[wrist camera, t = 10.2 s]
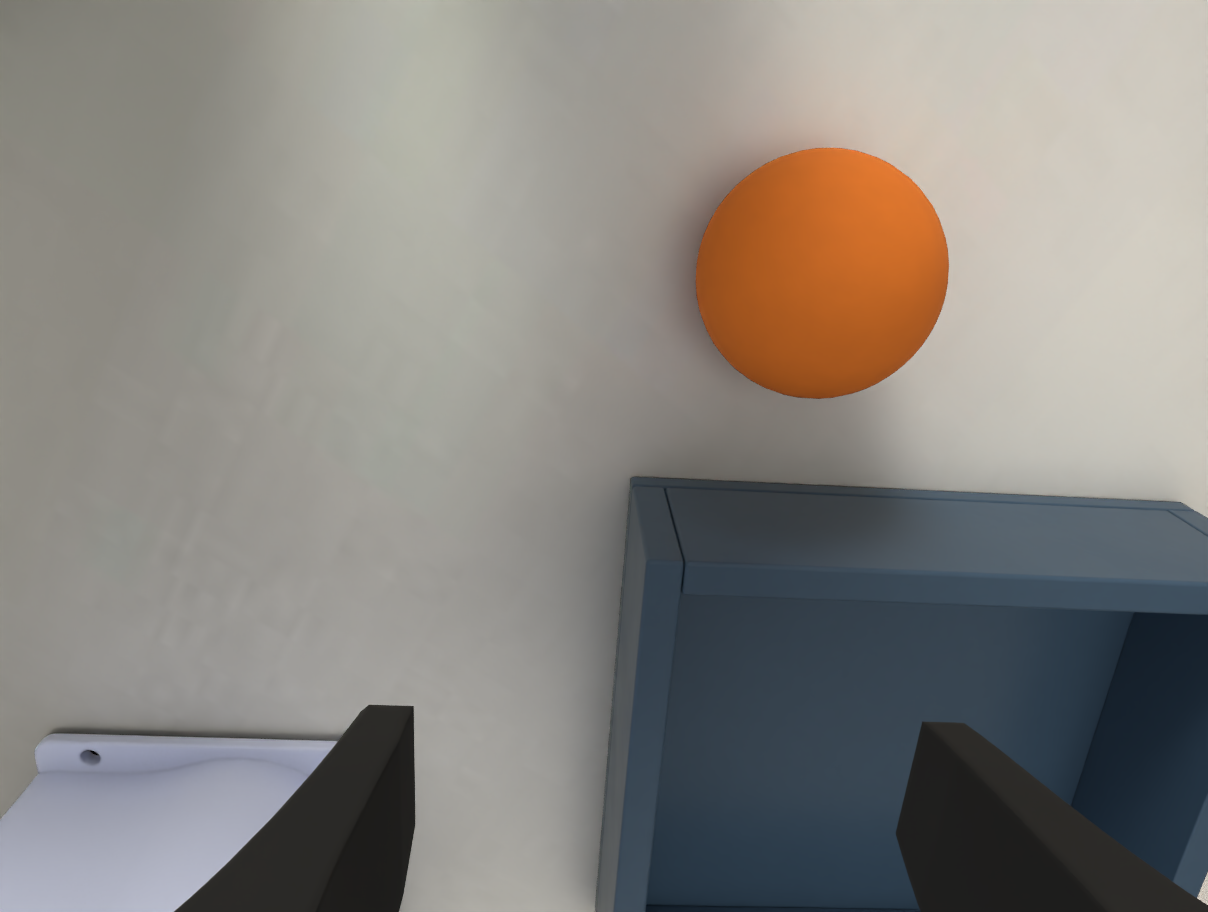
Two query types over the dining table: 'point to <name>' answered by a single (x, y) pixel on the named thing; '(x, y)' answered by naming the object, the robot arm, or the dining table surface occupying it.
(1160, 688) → the tray
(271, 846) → the robot arm
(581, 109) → the dining table surface
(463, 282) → the dining table surface
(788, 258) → the ball
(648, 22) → the dining table surface
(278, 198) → the dining table surface
